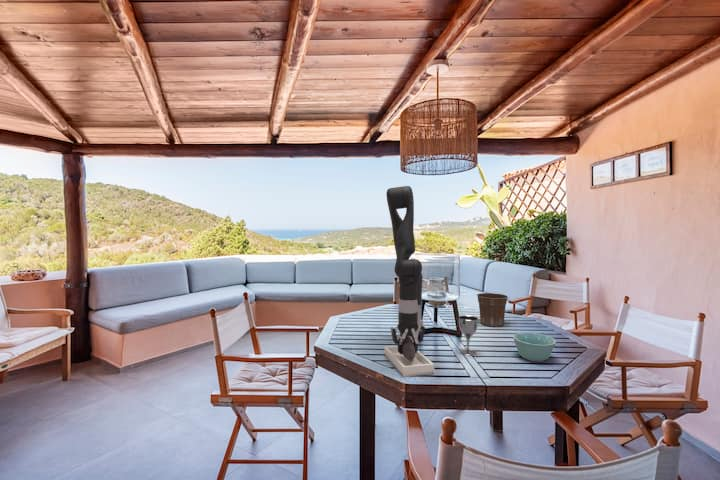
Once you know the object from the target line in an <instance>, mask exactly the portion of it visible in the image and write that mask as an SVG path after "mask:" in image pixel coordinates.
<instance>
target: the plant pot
mask: <svg viewBox="0 0 720 480" xmlns="http://www.w3.org/2000/svg"><path fill="white" fill-rule="evenodd" d="M508 296H509V295H506V294H501V293H492V292H491V293H490V292H480V293H477V294H476V297H477V303H478V307H479V319H480V320H479V321H480V324H481V325H484V326H487V327H492V328H496V327H498V328H499V327H503V326H504V324H505V316H506V314H505V313H506V305H507V303H508V298H509V297H508Z"/></svg>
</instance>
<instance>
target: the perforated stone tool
mask: <svg viewBox="0 0 720 480" xmlns="http://www.w3.org/2000/svg"><path fill="white" fill-rule="evenodd" d="M402 345H403V348H402V350H403V356H404V357H405V358H406V359H407V360H409V361H412V360H413V359H414V357H415V347H414V344H413V342H412V340H411V338H410V337H409V336H408V337H405V339H404V340H403V343H402Z"/></svg>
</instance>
